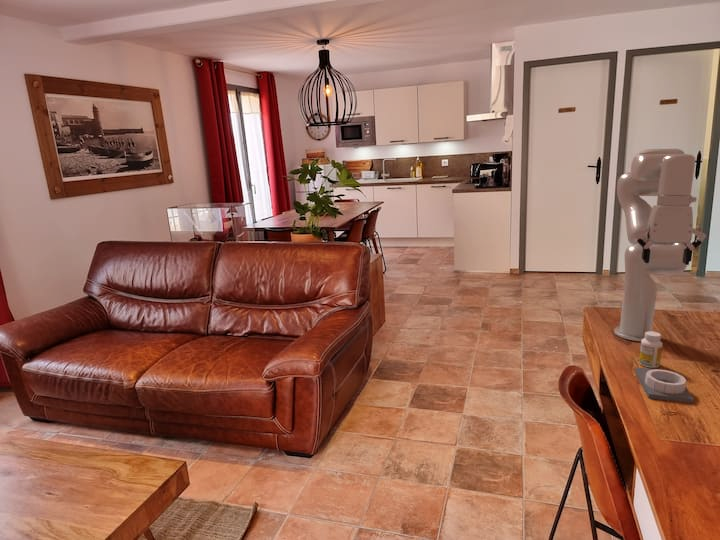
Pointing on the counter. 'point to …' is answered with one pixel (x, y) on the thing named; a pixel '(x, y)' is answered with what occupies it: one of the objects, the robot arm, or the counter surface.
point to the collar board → (659, 394)
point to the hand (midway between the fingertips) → (665, 263)
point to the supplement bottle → (650, 350)
